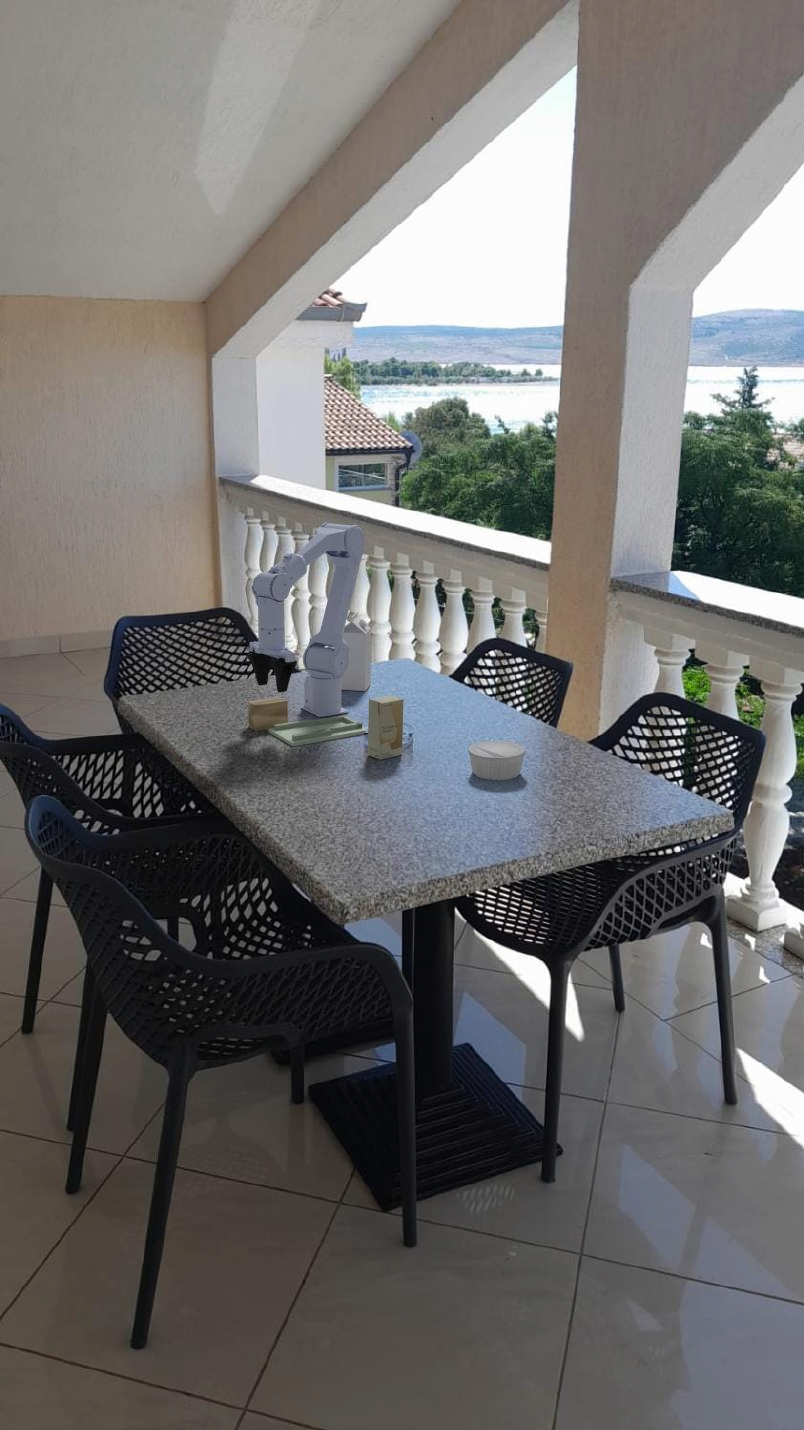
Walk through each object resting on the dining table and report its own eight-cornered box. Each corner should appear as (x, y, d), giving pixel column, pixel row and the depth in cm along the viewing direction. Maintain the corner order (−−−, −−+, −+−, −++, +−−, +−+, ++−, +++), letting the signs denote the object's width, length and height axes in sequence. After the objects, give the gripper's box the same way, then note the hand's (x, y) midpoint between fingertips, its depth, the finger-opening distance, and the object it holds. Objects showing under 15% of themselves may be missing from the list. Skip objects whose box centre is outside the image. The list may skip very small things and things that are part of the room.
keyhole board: (268, 732, 247) (267, 724, 246) (342, 719, 256) (342, 712, 256) (292, 746, 237) (292, 738, 236) (369, 733, 247) (369, 725, 246)
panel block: (248, 727, 250) (248, 701, 249) (280, 722, 254) (280, 697, 253) (255, 731, 247) (254, 705, 246) (287, 726, 252) (287, 700, 250)
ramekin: (460, 779, 218) (461, 753, 217) (476, 762, 229) (477, 737, 227) (516, 786, 215) (517, 760, 213) (530, 768, 225) (531, 743, 223)
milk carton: (338, 690, 282) (337, 616, 276) (344, 683, 289) (343, 611, 283) (365, 691, 281) (365, 617, 275) (370, 684, 287) (371, 612, 282)
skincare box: (380, 760, 228) (380, 703, 225) (366, 755, 231) (367, 699, 228) (403, 754, 232) (404, 698, 229) (390, 749, 236) (390, 694, 232)
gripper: (237, 624, 245) (238, 684, 249) (275, 635, 234) (276, 697, 238) (264, 621, 249) (265, 679, 253) (302, 631, 239) (302, 692, 243)
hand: (272, 688), depth 246 cm, fingers open, 7 cm apart
